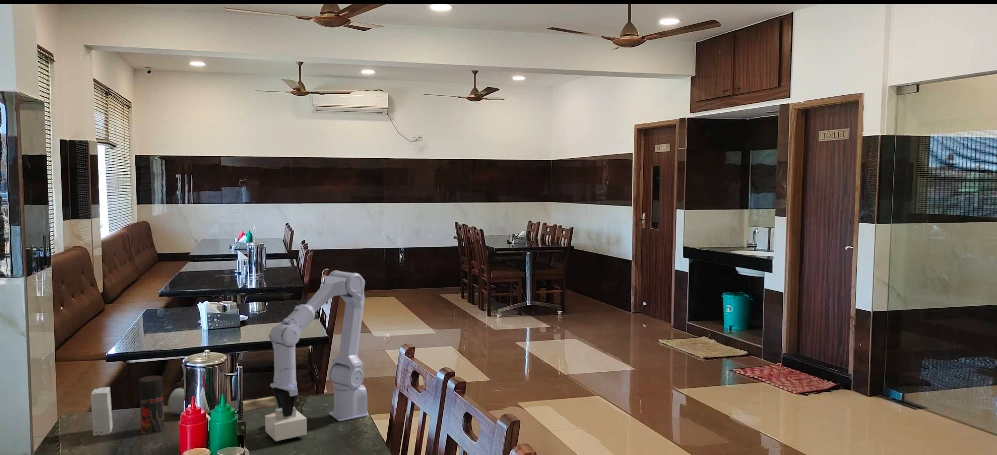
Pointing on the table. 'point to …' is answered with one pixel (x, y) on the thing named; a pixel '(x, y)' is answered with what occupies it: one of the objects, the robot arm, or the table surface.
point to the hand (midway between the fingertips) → (285, 414)
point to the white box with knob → (285, 425)
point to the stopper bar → (258, 403)
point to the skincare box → (101, 411)
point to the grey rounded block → (176, 401)
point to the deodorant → (151, 404)
